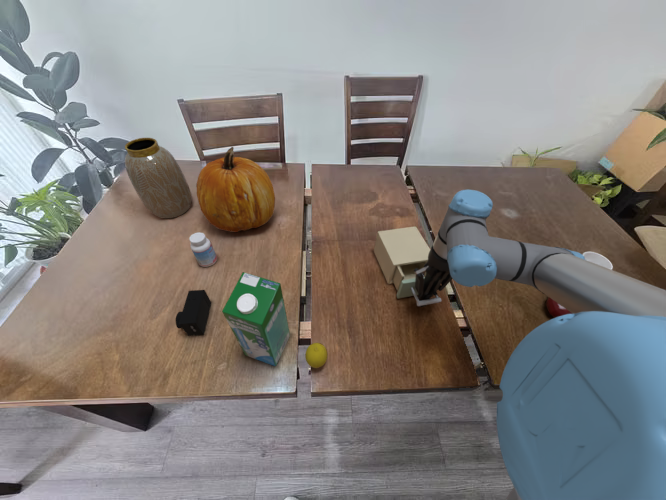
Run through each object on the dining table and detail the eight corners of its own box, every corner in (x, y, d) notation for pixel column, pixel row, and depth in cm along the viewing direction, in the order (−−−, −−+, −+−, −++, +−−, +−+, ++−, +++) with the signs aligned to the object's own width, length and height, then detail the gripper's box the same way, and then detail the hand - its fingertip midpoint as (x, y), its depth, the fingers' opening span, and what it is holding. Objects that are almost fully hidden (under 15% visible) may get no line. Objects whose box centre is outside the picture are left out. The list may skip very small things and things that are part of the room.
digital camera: (192, 303, 82) (184, 290, 77) (211, 302, 82) (204, 289, 77) (183, 336, 75) (173, 324, 70) (203, 334, 75) (195, 322, 70)
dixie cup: (573, 271, 95) (597, 249, 87) (592, 289, 90) (619, 268, 82) (554, 274, 94) (576, 253, 86) (572, 293, 89) (598, 272, 81)
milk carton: (244, 355, 72) (218, 305, 53) (261, 325, 78) (242, 271, 59) (275, 366, 70) (259, 319, 52) (290, 335, 76) (280, 282, 58)
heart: (532, 293, 87) (546, 323, 82) (549, 281, 81) (566, 313, 75) (568, 293, 88) (584, 323, 82) (588, 282, 82) (607, 314, 76)
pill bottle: (219, 263, 92) (209, 240, 84) (200, 270, 90) (188, 246, 82) (215, 251, 96) (205, 228, 88) (197, 257, 94) (185, 234, 86)
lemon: (303, 370, 70) (302, 357, 64) (308, 349, 74) (307, 335, 68) (324, 374, 69) (325, 362, 63) (328, 353, 73) (329, 340, 67)
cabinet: (426, 277, 91) (435, 258, 84) (387, 284, 89) (393, 265, 82) (409, 245, 101) (415, 226, 94) (373, 251, 99) (377, 231, 91)
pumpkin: (270, 197, 118) (258, 127, 96) (283, 231, 104) (273, 158, 82) (206, 209, 111) (178, 137, 89) (211, 248, 97) (179, 173, 75)
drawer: (444, 308, 82) (453, 294, 76) (405, 316, 80) (412, 302, 74) (416, 259, 95) (422, 244, 89) (382, 265, 93) (386, 249, 87)
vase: (203, 199, 116) (179, 136, 96) (178, 225, 104) (145, 160, 85) (168, 191, 118) (137, 129, 98) (139, 217, 107) (98, 152, 87)
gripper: (464, 235, 69) (435, 289, 86) (416, 242, 66) (396, 296, 84) (481, 257, 64) (447, 309, 81) (430, 266, 62) (406, 318, 79)
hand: (421, 302), depth 82 cm, fingers closed
